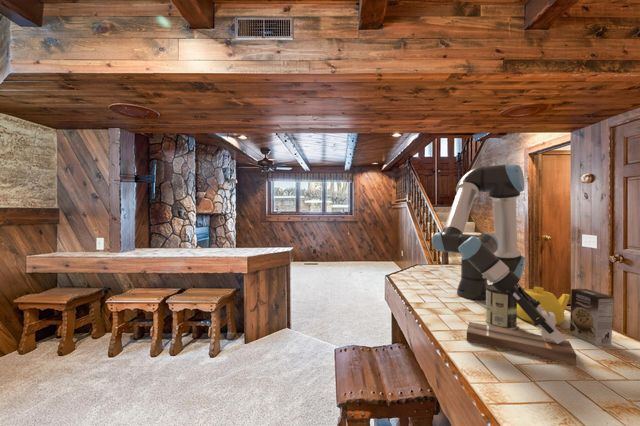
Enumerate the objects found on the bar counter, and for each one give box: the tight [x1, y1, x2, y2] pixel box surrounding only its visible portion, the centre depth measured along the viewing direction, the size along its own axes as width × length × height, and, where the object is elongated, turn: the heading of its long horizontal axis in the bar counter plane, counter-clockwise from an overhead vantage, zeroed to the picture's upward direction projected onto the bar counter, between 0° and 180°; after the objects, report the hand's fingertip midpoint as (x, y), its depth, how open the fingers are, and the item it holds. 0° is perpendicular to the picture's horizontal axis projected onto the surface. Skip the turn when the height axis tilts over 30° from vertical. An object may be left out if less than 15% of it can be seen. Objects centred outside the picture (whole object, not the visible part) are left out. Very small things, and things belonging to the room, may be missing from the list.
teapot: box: [517, 286, 571, 326], centre depth 118 cm, size 20×19×13 cm
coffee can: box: [485, 283, 518, 330], centre depth 111 cm, size 10×10×14 cm
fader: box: [540, 311, 556, 342], centre depth 90 cm, size 4×3×9 cm
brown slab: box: [466, 321, 577, 366], centre depth 94 cm, size 10×28×3 cm, turn 59°
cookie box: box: [569, 288, 615, 346], centre depth 99 cm, size 9×6×16 cm
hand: (557, 332), depth 89 cm, fingers open, 13 cm apart
